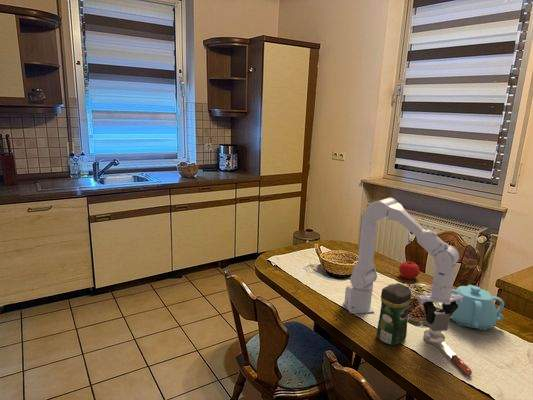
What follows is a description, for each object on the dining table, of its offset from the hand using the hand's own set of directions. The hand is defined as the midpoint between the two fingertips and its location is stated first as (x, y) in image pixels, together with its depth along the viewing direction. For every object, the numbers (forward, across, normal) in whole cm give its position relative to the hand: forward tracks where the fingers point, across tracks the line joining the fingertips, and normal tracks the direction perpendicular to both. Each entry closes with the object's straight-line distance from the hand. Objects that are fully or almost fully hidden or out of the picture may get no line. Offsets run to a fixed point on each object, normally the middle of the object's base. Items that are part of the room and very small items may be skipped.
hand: (436, 321), depth 120 cm
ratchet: (+7, 0, -7) cm, 10 cm away
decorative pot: (+7, +20, +10) cm, 23 cm away
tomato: (+7, +16, +46) cm, 50 cm away
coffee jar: (+7, -14, +2) cm, 16 cm away
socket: (+2, 0, 0) cm, 2 cm away
